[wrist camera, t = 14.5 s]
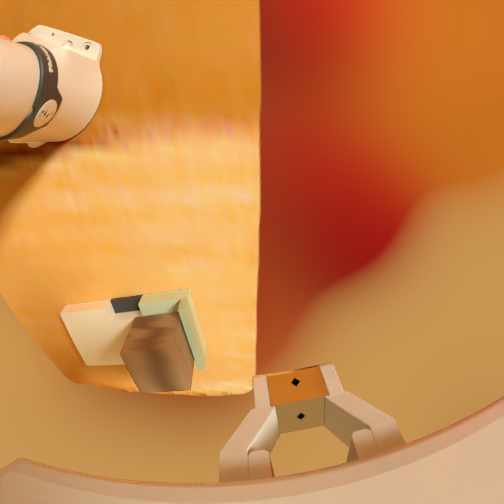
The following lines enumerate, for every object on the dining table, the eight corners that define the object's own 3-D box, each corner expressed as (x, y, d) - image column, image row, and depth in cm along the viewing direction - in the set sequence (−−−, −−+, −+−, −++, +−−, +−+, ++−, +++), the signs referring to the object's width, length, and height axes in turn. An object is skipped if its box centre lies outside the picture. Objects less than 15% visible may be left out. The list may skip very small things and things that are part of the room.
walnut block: (151, 354, 48) (140, 392, 40) (135, 316, 45) (119, 353, 37) (195, 350, 48) (190, 390, 40) (182, 311, 45) (173, 348, 37)
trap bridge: (91, 355, 52) (81, 376, 46) (66, 304, 47) (52, 323, 42) (206, 346, 52) (204, 369, 46) (189, 287, 47) (184, 308, 42)
